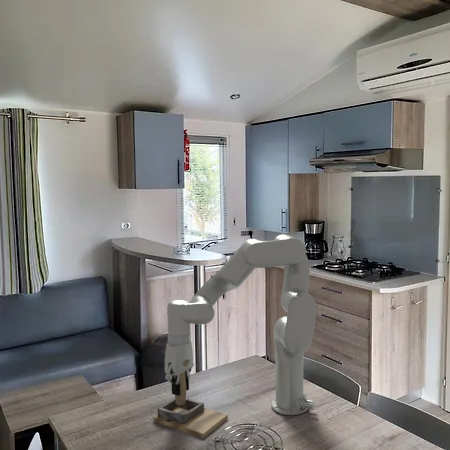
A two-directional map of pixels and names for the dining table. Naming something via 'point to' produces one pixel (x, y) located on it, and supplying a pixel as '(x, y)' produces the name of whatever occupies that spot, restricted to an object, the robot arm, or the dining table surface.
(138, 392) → the dining table surface
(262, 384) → the dining table surface
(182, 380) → the handle
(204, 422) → the subfloor panel
